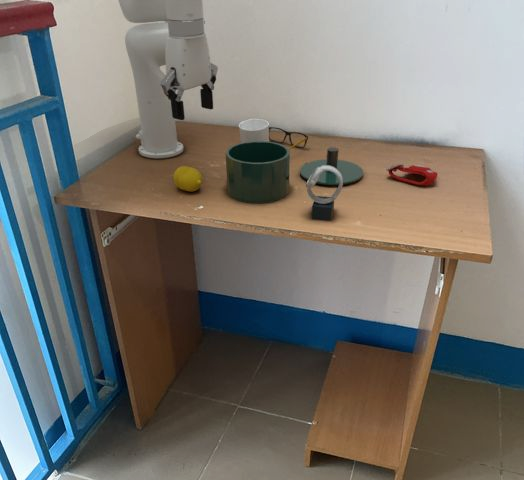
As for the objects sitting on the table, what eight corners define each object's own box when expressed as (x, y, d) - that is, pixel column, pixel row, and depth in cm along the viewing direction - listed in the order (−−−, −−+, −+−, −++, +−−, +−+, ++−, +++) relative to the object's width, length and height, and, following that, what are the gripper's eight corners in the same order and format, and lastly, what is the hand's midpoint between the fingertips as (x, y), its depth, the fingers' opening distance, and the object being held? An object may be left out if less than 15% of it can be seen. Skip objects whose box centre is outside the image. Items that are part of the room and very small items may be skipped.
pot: (215, 192, 137) (212, 154, 131) (253, 173, 146) (252, 136, 140) (263, 208, 130) (263, 168, 124) (300, 187, 139) (302, 149, 133)
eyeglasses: (309, 148, 160) (310, 134, 158) (281, 164, 151) (281, 149, 149) (268, 139, 167) (268, 125, 164) (239, 153, 158) (238, 139, 155)
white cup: (267, 168, 149) (265, 130, 142) (238, 167, 150) (235, 129, 144) (273, 155, 155) (271, 119, 148) (245, 154, 156) (242, 118, 149)
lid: (287, 177, 144) (288, 151, 140) (321, 158, 154) (323, 134, 150) (341, 192, 137) (343, 166, 132) (374, 172, 146) (377, 146, 142)
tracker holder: (424, 165, 147) (448, 169, 138) (420, 183, 148) (443, 188, 140) (384, 160, 142) (406, 164, 134) (381, 178, 144) (402, 183, 135)
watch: (306, 207, 130) (308, 161, 123) (341, 210, 129) (345, 163, 122) (302, 218, 126) (304, 170, 119) (338, 221, 125) (342, 173, 118)
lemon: (168, 189, 139) (165, 167, 136) (184, 182, 143) (182, 160, 139) (193, 198, 135) (191, 175, 131) (209, 190, 138) (207, 168, 135)
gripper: (200, 20, 124) (206, 102, 135) (143, 32, 114) (154, 120, 124) (226, 23, 121) (230, 107, 131) (170, 36, 110) (179, 126, 121)
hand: (193, 113), depth 128 cm, fingers open, 9 cm apart
